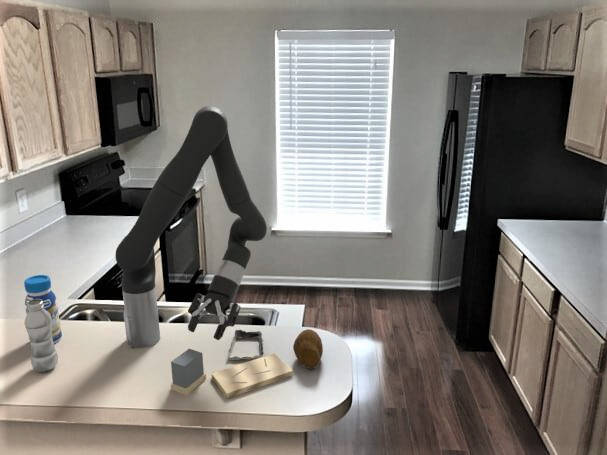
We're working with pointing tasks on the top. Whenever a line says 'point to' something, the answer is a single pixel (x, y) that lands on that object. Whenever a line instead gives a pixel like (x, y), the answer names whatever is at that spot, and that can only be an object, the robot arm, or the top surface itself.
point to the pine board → (251, 375)
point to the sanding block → (187, 371)
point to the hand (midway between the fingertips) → (203, 335)
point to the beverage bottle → (44, 300)
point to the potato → (308, 348)
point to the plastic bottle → (40, 336)
